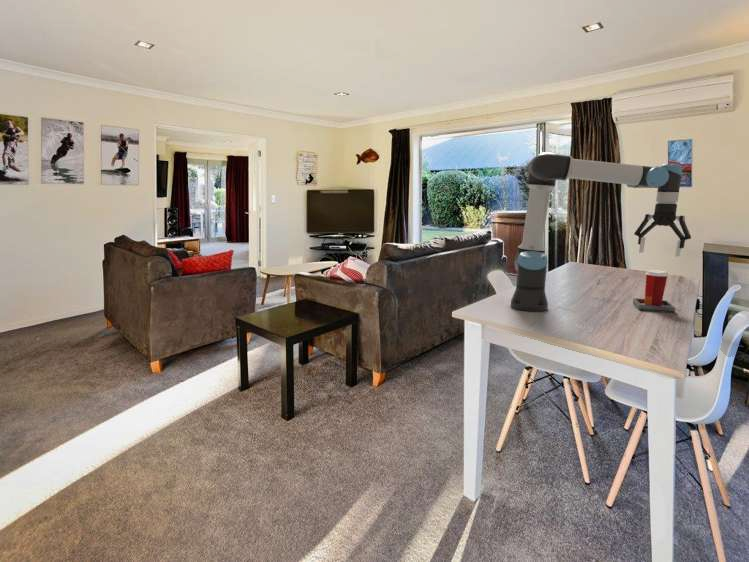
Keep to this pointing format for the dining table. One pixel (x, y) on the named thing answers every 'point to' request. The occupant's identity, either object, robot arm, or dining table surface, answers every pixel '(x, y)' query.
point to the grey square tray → (663, 308)
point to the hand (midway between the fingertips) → (658, 254)
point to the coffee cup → (655, 287)
